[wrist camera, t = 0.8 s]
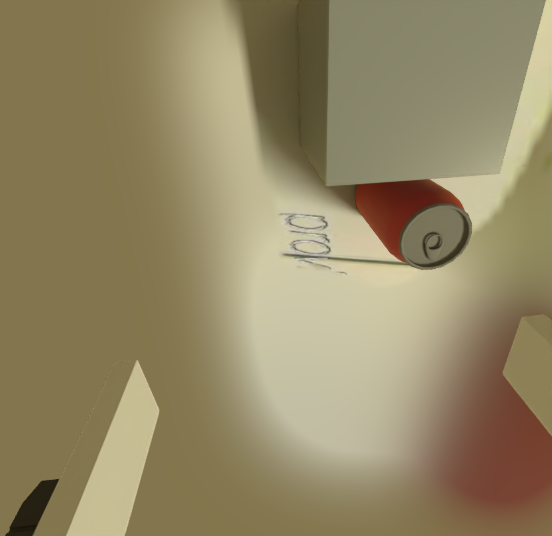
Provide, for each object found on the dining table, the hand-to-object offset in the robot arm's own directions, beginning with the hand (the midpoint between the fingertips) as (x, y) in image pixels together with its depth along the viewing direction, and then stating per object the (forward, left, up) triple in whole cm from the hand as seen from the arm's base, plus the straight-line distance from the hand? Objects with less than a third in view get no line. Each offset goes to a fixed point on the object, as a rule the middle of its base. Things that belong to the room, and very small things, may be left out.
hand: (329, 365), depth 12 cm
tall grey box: (-8, +8, -26) cm, 29 cm away
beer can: (+3, +11, -27) cm, 29 cm away
